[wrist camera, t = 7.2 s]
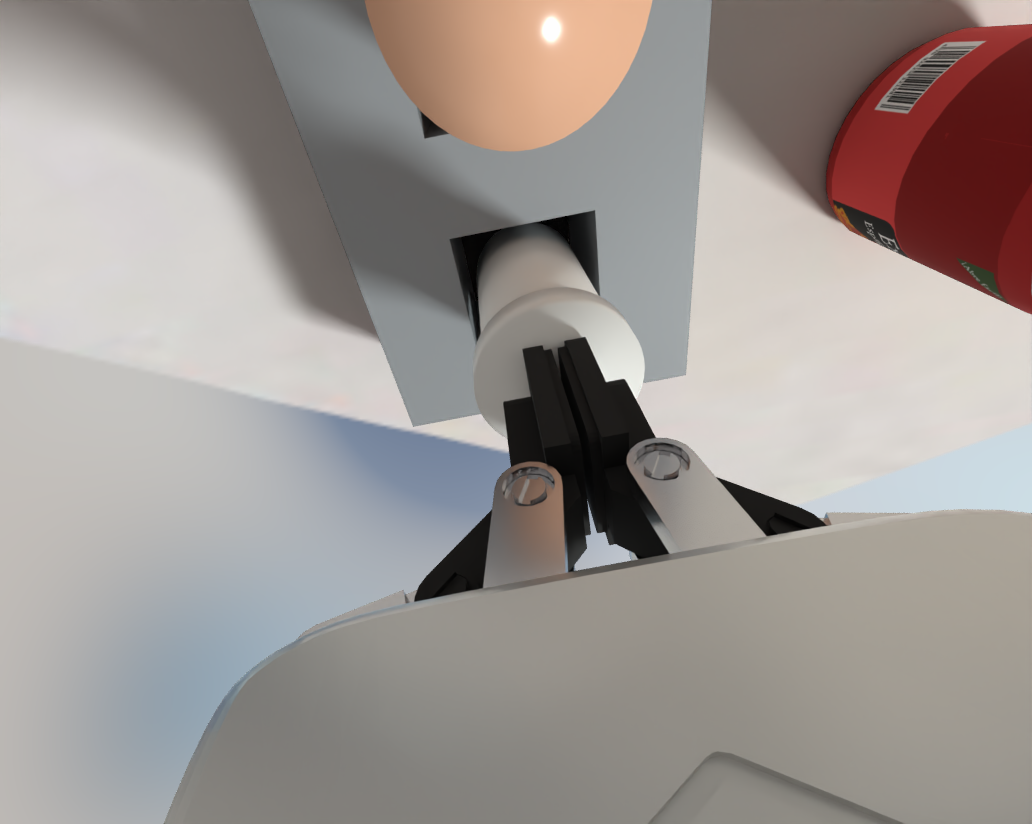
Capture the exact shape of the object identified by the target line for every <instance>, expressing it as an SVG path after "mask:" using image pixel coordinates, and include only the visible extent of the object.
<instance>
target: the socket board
mask: <svg viewBox="0 0 1032 824" xmlns="http://www.w3.org/2000/svg"><path fill="white" fill-rule="evenodd" d="M248 2H249V4H250V7H251V9H252V12H253V14H254V17H255V20H256V22H257V25H258V27H259V30H260V33H261V35H262V38H263V40H264V43H265V45H266V48H267V51H268V53H269V56H270V58H271V61H272V63H273V66H274V69H275V71H276V74H277V76H278V79H279V82H280V84H281V87H282V89H283V92H284V94H285V97H286V100H287V102H288V105H289V107H290V110H291V112H292V115H293V118H294V120H295V123H296V125H297V128H298V131H299V133H300V136H301V138H302V141H303V143H304V146H305V149H306V151H307V154H308V156H309V159H310V162H311V164H312V167H313V169H314V172H315V174H316V177H317V180H318V182H319V185H320V187H321V190H322V192H323V195H324V198H325V200H326V203H327V205H328V208H329V211H330V213H331V216H332V218H333V221H334V223H335V226H336V229H337V231H338V234H339V236H340V239H341V241H342V244H343V247H344V249H345V252H346V254H347V257H348V260H349V262H350V265H351V267H352V270H353V272H354V275H355V278H356V280H357V283H358V285H359V288H360V290H361V293H362V296H363V298H364V301H365V303H366V306H367V309H368V311H369V314H370V316H371V319H372V321H373V324H374V327H375V329H376V332H377V334H378V337H379V340H380V342H381V345H382V347H383V350H384V352H385V355H386V358H387V360H388V363H389V365H390V368H391V370H392V373H393V376H394V378H395V381H396V383H397V386H398V389H399V391H400V394H401V396H402V399H403V401H404V404H405V407H406V409H407V412H408V414H409V417H410V419H411V422H412V425H413V427H414V426H419V425H425V424H430V423H435V422H440V421H446V420H451V419H456V418H462V417H467V416H472V415H477V414H481V412H480V410H479V408H478V405H477V402H476V399H475V394H474V380H473V357H474V351H475V347H476V344H477V341H478V339H479V337H480V334H481V327H480V314H479V301H476V299H475V295H474V291H473V287H472V282H471V278H470V274H469V269H468V265H467V261H466V256H465V252H464V248H463V243H462V239H461V237H462V236H467V235H472V234H477V233H482V232H487V231H492V230H498V229H503V228H508V227H513V226H518V225H523V224H528V223H533V222H538V221H543V220H548V219H553V218H558V217H563V216H568V224H569V235H570V246H571V249H572V251H573V252H574V254H575V256H576V258H577V259H578V261H579V263H580V264H581V266H582V268H583V270H584V271H585V273H586V275H587V277H588V278H589V280H590V282H591V284H592V285H593V287H594V289H595V291H596V292H597V294H598V295H599V296H600V297H602V298H604V299H605V300H607V301H608V302H610V303H611V304H612V305H613V306H615V307H616V308H617V310H618V311H619V312H620V313H621V314H622V315H623V317H624V319H625V320H626V322H627V323H628V325H629V326H630V328H631V330H632V331H633V333H634V334H635V336H636V338H637V339H638V341H639V343H640V346H641V348H642V352H643V356H644V363H645V372H644V380H643V383H646V382H652V381H657V380H662V379H668V378H673V377H678V376H683V375H686V366H687V352H688V337H689V323H690V308H691V294H692V280H693V265H694V251H695V237H696V222H697V208H698V194H699V179H700V165H701V150H702V136H703V122H704V107H705V93H706V79H707V64H708V50H709V35H710V21H711V7H712V0H652V6H651V10H650V13H649V17H648V21H647V25H646V29H645V32H644V35H643V37H642V40H641V43H640V46H639V49H638V51H637V53H636V55H635V58H634V60H633V62H632V64H631V66H630V68H629V70H628V72H627V74H626V75H625V77H624V78H623V80H622V82H621V83H620V85H619V87H618V88H617V90H616V91H615V92H614V94H613V95H612V96H611V97H610V99H609V100H608V101H607V103H606V104H605V105H604V106H603V107H602V108H601V109H600V110H599V111H598V112H597V113H596V114H595V115H594V116H593V117H592V118H591V119H590V120H589V121H588V122H586V123H585V124H584V125H583V126H581V127H580V128H579V129H578V130H576V131H574V132H573V133H571V134H569V135H568V136H566V137H565V138H563V139H560V140H558V141H556V142H554V143H551V144H549V145H546V146H543V147H539V148H535V149H532V150H524V151H496V150H491V149H485V148H481V147H478V146H475V145H472V144H469V143H467V142H465V141H462V140H460V139H458V138H456V137H454V136H452V135H451V134H449V133H448V132H446V131H445V130H443V129H442V128H440V127H439V126H437V125H436V124H435V123H434V122H433V121H431V120H430V119H429V118H428V117H427V116H426V115H424V114H423V113H422V112H421V111H420V109H419V108H418V107H417V106H416V105H415V104H414V103H413V102H412V101H411V100H410V98H409V97H408V96H407V94H406V93H405V92H404V90H403V89H402V88H401V86H400V85H399V83H398V82H397V81H396V79H395V77H394V75H393V74H392V72H391V70H390V68H389V67H388V65H387V63H386V61H385V59H384V57H383V55H382V52H381V50H380V48H379V46H378V43H377V41H376V38H375V35H374V32H373V29H372V26H371V23H370V20H369V17H368V13H367V9H366V4H365V0H248Z"/></svg>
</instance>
